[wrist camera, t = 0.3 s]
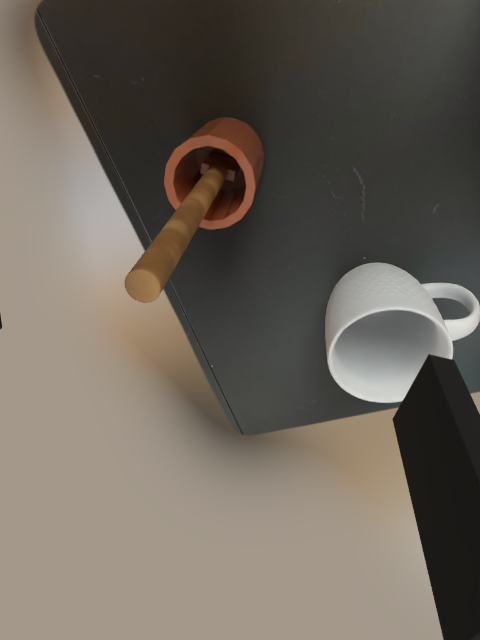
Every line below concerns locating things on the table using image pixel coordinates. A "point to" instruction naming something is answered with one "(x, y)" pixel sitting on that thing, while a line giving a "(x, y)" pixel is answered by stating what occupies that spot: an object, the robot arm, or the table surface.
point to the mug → (389, 329)
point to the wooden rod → (179, 230)
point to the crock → (232, 195)
